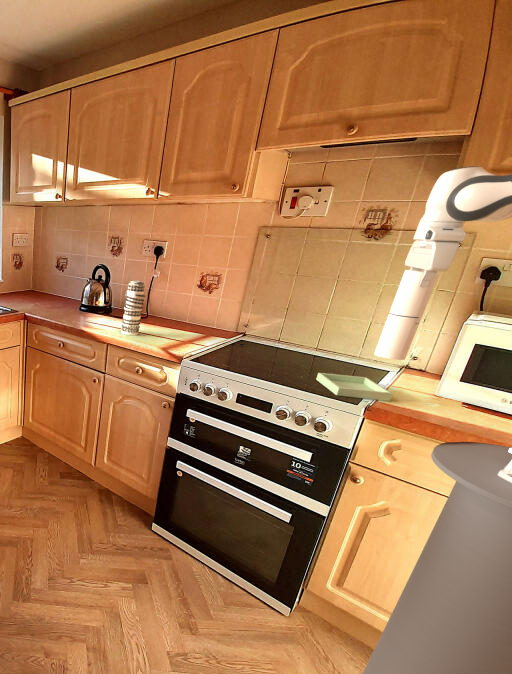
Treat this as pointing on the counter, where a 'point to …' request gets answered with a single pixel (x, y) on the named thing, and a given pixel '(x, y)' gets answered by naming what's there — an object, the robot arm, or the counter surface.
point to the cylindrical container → (404, 316)
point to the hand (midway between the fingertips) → (416, 285)
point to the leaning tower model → (133, 307)
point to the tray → (353, 386)
